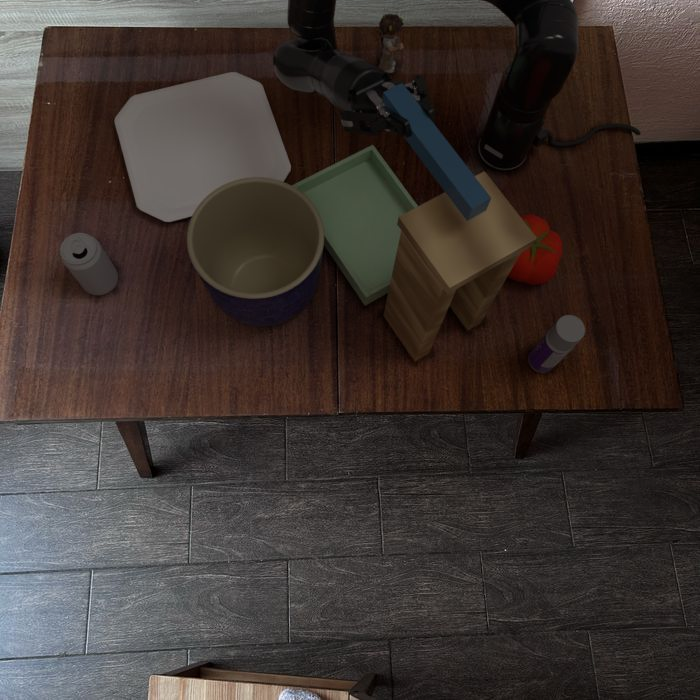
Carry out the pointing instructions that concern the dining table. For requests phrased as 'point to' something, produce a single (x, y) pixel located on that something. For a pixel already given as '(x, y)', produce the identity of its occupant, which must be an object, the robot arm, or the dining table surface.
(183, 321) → the dining table surface
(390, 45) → the toy
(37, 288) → the dining table surface
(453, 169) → the bar
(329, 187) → the tray
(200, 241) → the planter
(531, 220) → the tomato
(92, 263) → the beverage can
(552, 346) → the container
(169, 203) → the plate
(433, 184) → the dining table surface
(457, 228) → the shelf
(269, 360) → the dining table surface
